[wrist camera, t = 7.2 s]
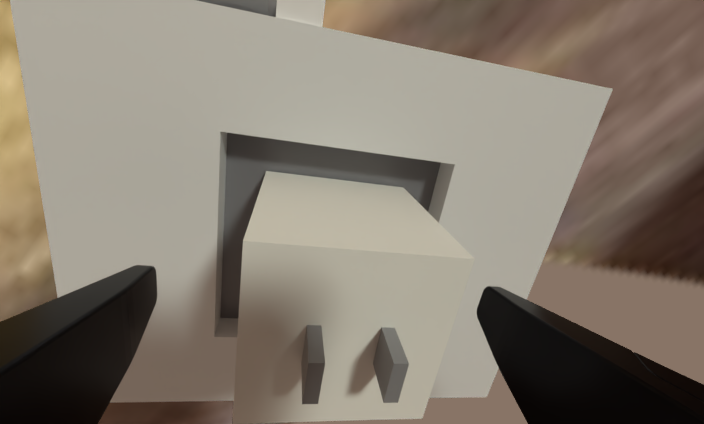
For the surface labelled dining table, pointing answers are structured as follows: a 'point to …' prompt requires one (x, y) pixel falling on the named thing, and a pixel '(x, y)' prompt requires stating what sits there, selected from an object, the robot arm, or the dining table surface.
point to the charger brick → (342, 302)
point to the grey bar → (280, 9)
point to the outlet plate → (276, 161)
